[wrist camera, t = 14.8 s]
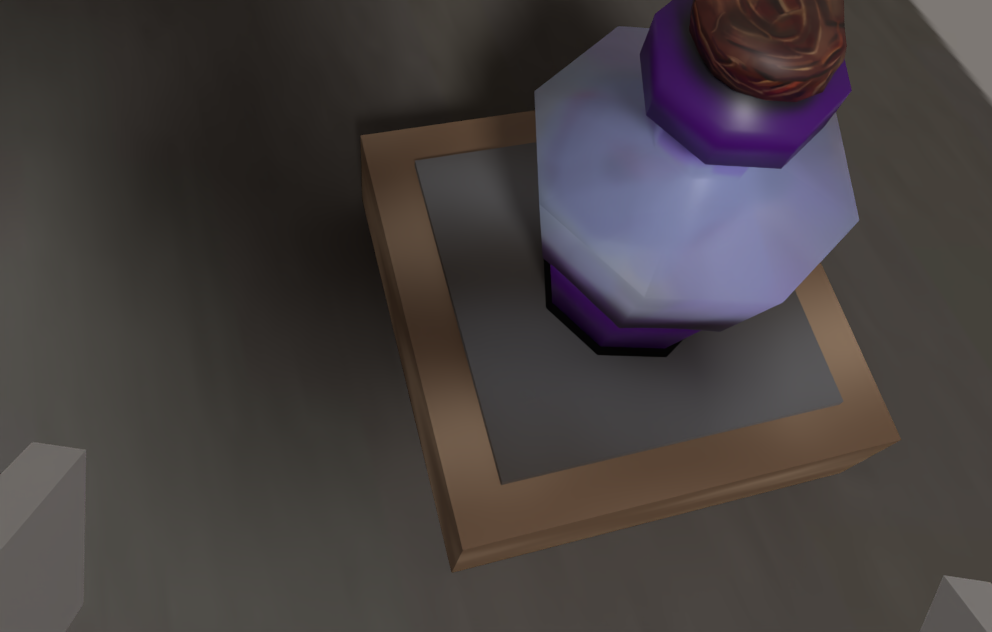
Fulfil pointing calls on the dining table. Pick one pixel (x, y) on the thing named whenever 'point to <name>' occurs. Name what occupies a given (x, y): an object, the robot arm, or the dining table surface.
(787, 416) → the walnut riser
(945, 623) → the robot arm
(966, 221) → the dining table surface
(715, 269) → the potion bottle
